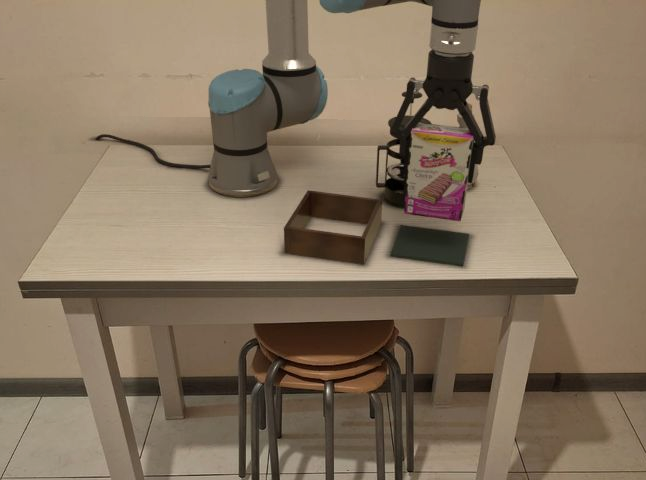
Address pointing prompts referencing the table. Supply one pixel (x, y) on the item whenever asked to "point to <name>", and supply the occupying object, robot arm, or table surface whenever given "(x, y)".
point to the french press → (396, 170)
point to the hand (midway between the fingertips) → (438, 176)
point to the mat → (430, 245)
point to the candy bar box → (438, 171)
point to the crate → (329, 242)
